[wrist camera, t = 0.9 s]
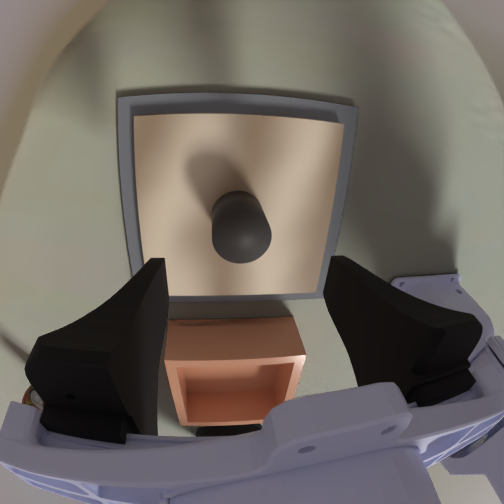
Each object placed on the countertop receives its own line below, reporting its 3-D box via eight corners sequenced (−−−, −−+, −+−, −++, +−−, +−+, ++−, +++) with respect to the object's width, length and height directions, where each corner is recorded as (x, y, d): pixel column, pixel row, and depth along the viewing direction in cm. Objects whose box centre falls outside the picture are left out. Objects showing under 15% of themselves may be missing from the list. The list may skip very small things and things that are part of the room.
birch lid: (339, 122, 17) (368, 131, 14) (312, 286, 23) (329, 319, 20) (137, 115, 16) (117, 121, 12) (150, 289, 22) (142, 325, 18)
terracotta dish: (293, 316, 25) (306, 354, 22) (278, 386, 31) (286, 420, 27) (169, 319, 24) (164, 360, 20) (181, 390, 29) (180, 425, 25)
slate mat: (355, 107, 17) (358, 107, 17) (322, 294, 25) (324, 298, 24) (120, 97, 15) (117, 97, 15) (138, 298, 23) (137, 301, 22)
